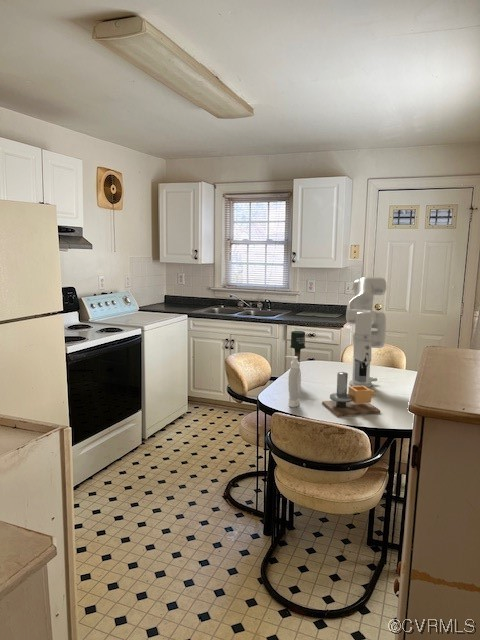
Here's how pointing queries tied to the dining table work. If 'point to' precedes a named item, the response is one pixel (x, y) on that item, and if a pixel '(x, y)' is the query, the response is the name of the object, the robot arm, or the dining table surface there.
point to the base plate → (351, 408)
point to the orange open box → (361, 394)
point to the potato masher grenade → (298, 342)
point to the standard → (341, 391)
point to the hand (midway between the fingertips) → (360, 374)
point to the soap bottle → (294, 382)
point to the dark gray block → (357, 372)
